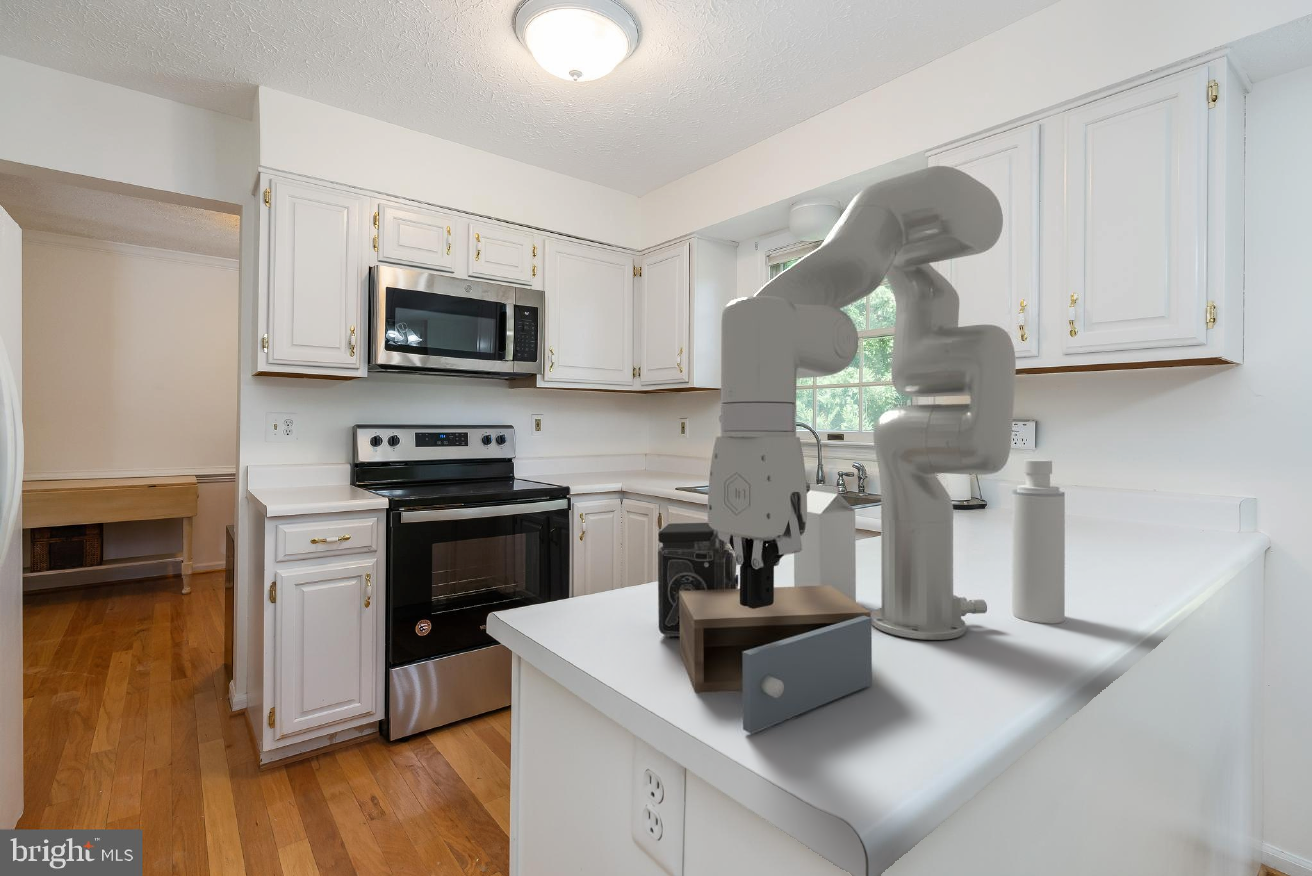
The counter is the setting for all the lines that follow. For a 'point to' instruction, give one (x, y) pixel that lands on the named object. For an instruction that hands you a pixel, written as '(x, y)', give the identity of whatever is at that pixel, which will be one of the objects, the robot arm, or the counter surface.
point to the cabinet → (749, 628)
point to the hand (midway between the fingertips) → (756, 604)
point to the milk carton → (827, 543)
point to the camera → (690, 568)
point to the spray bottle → (1038, 547)
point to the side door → (805, 672)
